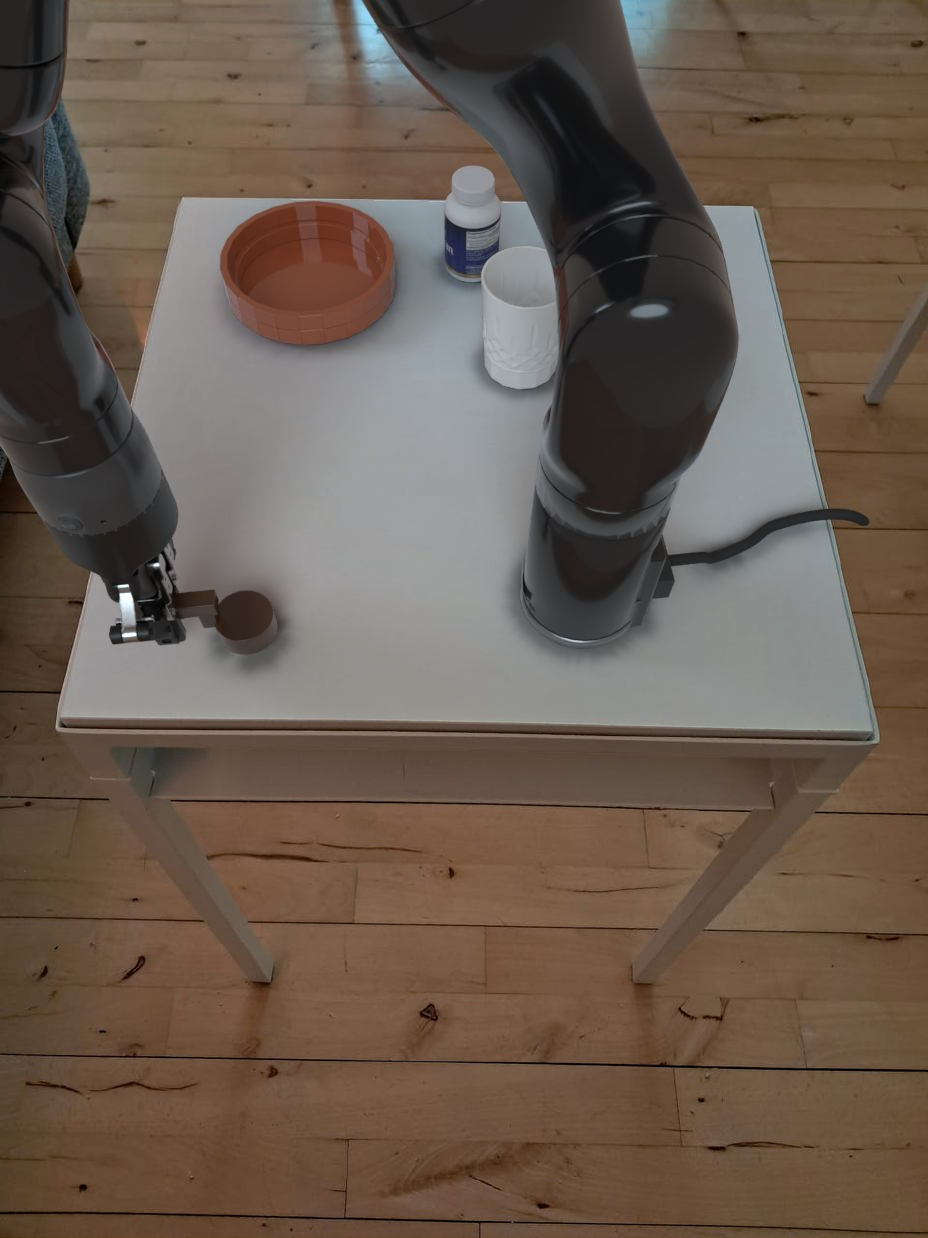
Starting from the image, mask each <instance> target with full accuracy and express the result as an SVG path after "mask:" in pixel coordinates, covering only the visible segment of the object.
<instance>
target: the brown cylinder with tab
mask: <svg viewBox="0 0 928 1238" xmlns="http://www.w3.org/2000/svg"><path fill="white" fill-rule="evenodd" d="M172 603H173V605H174V608H175V609H176V612H177V614H178V616H179V618H180V619H181V620H183V619H182V618H184V619H190V618H191V619H192V618H198V619H199V621H200V623H201V626H202V627H203V629H210V628H215V630H216V633H217V634H218V637H219V638H220V641H221V643H222V645H223V646H224V647H225V648H226V649H227V650H229V651H230V652H231V653H234V654H237V655H243V656H246V655H247V656H248V655H249V656H250V655H254V654H255V655H256V654H258V653H260V652H262V651H264V650H265V649H267V648H268V647H269V646H270V645H271V644H272V643H273V642H274V641H275V638H276V637H277V634H278V627H279V626H278V620H277V618H276V615H275V614H276V613H275V611H274V607H273V605H272V603H271V601H270V600H269V599H268V597H266V596H265V595H264V594H263V593H260V592H258V591H254V590H238V591H235V592H233V593H231V594H229V595H227V596H225V597H224V598H223V599H222V600H220V602H219V597H218V594H217V592H216V590H215V589H204V590H194V591H182V592H180V593H175V594H172Z"/></svg>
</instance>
